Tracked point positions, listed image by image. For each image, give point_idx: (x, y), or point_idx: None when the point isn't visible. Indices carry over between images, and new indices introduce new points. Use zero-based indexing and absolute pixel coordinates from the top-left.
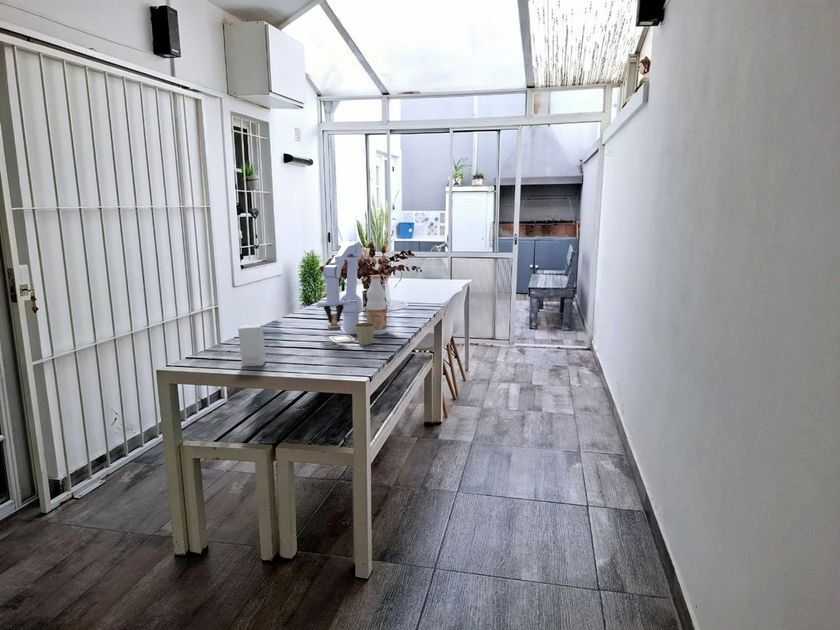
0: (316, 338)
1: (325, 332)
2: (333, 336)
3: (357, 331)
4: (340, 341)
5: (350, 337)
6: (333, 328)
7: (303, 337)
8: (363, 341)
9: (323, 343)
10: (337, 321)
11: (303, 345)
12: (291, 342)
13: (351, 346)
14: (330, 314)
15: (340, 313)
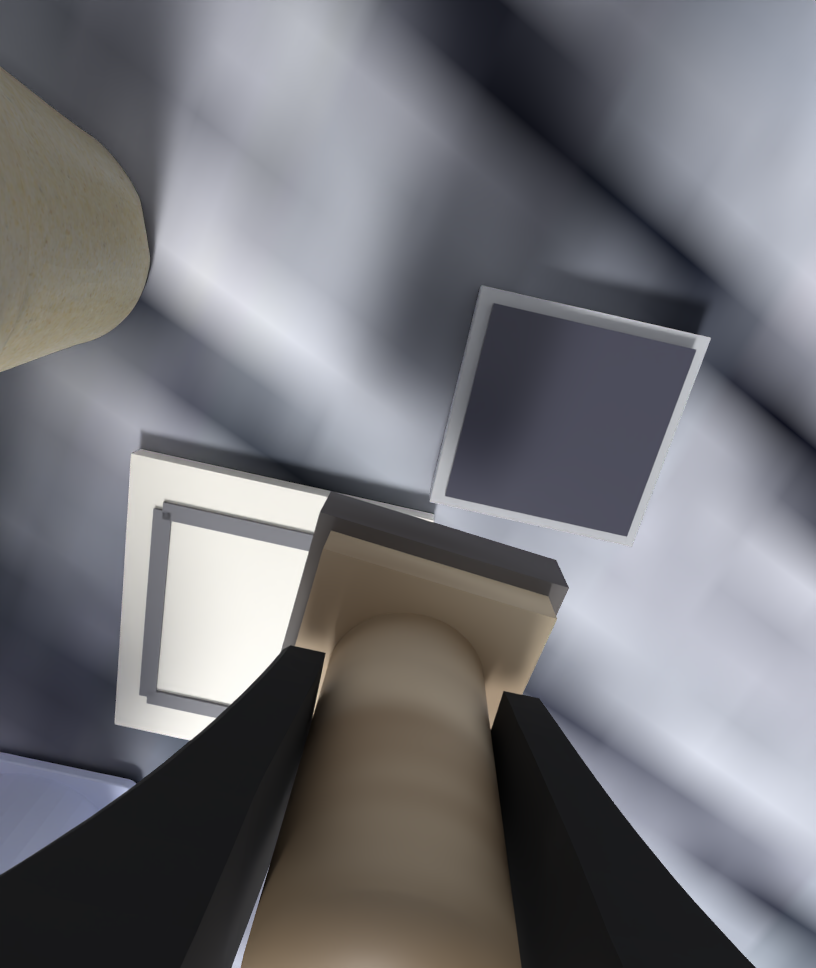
0: None
1: None
2: None
3: (41, 208)
4: None
5: (152, 593)
6: (480, 552)
7: None
8: (78, 130)
9: (635, 471)
10: (314, 705)
11: (796, 643)
12: (810, 828)
13: (305, 195)
14: (624, 916)
15: (131, 820)
